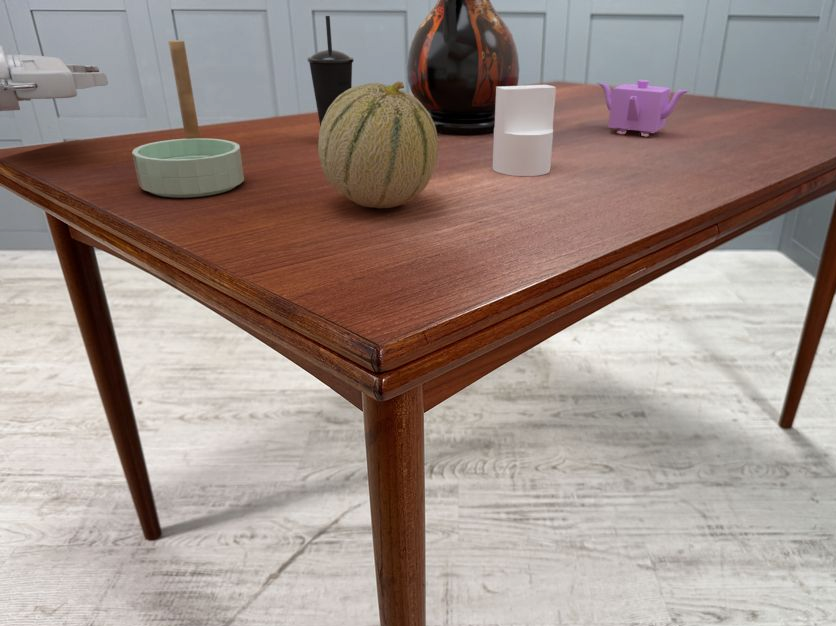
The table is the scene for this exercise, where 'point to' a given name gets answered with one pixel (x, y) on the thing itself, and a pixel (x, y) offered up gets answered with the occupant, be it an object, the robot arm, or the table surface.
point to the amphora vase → (462, 65)
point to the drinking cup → (329, 74)
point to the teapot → (639, 106)
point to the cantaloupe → (378, 145)
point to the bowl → (188, 167)
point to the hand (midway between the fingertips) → (102, 74)
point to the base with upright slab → (523, 130)
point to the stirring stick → (184, 88)
